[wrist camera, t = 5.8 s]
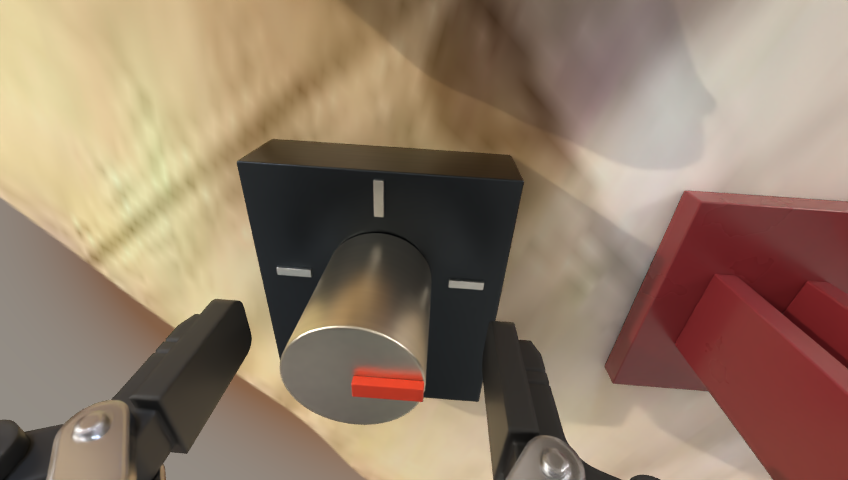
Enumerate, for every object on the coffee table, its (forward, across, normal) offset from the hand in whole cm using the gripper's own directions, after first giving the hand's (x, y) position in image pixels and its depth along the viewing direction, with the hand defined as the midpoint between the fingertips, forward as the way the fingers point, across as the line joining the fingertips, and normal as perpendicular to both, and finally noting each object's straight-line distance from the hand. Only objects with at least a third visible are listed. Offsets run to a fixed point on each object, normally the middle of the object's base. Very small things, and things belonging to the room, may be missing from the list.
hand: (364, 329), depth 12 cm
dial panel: (+6, 0, +2) cm, 6 cm away
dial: (+3, 0, 0) cm, 3 cm away
